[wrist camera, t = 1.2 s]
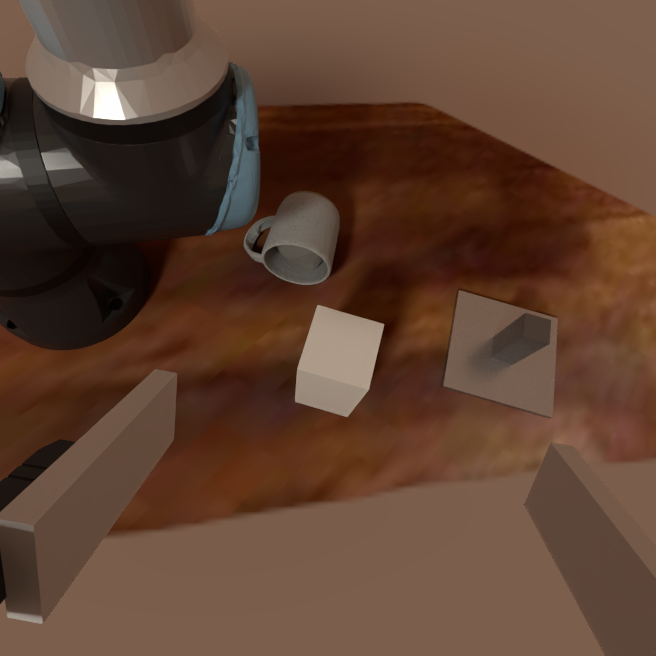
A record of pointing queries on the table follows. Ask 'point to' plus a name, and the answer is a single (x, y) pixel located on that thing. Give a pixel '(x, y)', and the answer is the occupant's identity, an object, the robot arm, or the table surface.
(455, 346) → the square base plate
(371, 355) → the beige square prism
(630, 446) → the table surface
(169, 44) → the robot arm
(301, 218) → the ceramic mug
